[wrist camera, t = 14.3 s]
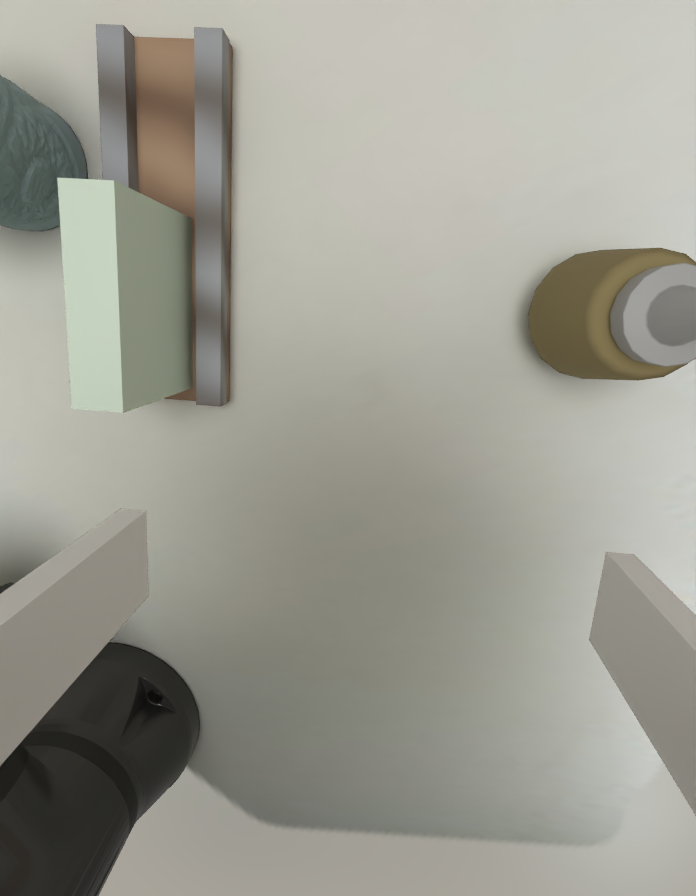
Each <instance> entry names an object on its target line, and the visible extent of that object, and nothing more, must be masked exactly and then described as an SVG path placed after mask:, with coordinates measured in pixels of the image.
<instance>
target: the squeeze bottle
mask: <svg viewBox="0 0 696 896" xmlns="http://www.w3.org/2000/svg"><path fill="white" fill-rule="evenodd" d="M528 315H529V328H530V338H531V340H532V342H533V344H534V346H535V348H536V349H537V351H538V353H539V355H540V357H541V359H543V360H544V361H545V362H547V363H548V364H549V365H550V366H552V367H553V368H554V369H556V370H557V371H558V372H559V373H563V374H567V375H571V376H575V377H579V378H584V379H613V380H644V379H651V378H658V377H664V376H666V375H668V374H670V373H672V372H673V371H675V370H677V369H679V368H681V367H683V366H685V365H686V364H688V363H689V362H690V361H692V360H694V359H696V262H695V261H694V260H692V259H691V258H690V257H689V256H687V255H686V254H683V253H679V252H675V251H671V250H667V249H663V248H645V249H619V250H599V251H593V252H587V253H581V254H576V255H574V256H572V257H571V258H569V259H567V260H566V261H564V262H562V263H561V264H559V265H557V266H555V267H554V268H552V270H551V271H550V272H549V273H548V275H547V276H546V277H545V278H544V280H543V281H542V282H541V283H540V285H539V286H538V287H537V289H536V291H535V294H534V297H533V300H532V304H531V307H530V310H529V313H528Z"/></svg>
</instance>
